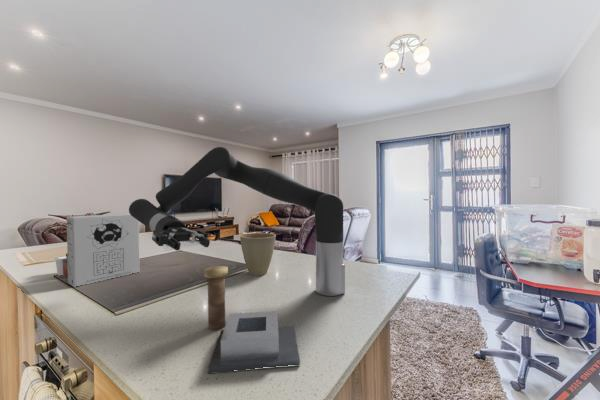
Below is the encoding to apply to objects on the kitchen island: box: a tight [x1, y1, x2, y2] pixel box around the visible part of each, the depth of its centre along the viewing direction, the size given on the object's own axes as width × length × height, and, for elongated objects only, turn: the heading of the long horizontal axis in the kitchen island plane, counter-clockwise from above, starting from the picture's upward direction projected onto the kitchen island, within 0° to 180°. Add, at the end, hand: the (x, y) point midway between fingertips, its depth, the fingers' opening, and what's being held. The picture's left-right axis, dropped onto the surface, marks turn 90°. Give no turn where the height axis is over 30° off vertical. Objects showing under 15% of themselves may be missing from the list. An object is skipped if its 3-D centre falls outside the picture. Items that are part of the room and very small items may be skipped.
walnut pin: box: [203, 265, 229, 332], centre depth 64 cm, size 6×6×14 cm
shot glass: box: [55, 255, 67, 276], centre depth 108 cm, size 7×7×7 cm
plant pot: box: [239, 232, 277, 276], centre depth 109 cm, size 15×15×16 cm
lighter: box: [62, 252, 68, 279], centre depth 106 cm, size 8×3×10 cm, turn 168°
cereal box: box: [66, 212, 141, 288], centre depth 103 cm, size 22×8×25 cm, turn 145°
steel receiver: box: [207, 310, 301, 374], centre depth 55 cm, size 17×13×5 cm
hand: (194, 245), depth 71 cm, fingers open, 8 cm apart
